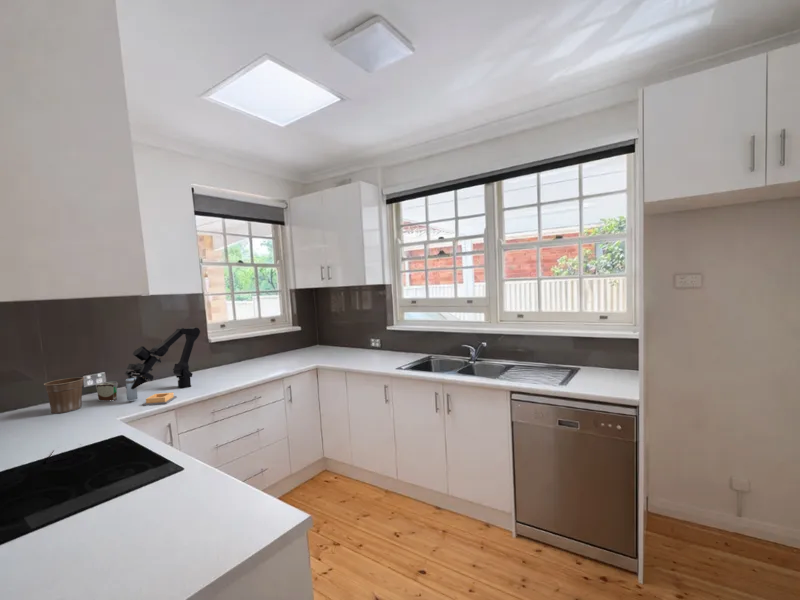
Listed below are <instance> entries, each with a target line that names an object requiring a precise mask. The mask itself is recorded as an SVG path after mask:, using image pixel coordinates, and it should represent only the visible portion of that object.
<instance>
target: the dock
mask: <svg viewBox="0 0 800 600" xmlns="http://www.w3.org/2000/svg"><path fill="white" fill-rule="evenodd" d="M176 398H178V397H177V395H174V392H161V393H154V394H152V395H150V396H148V397H147V398H145V402H144V403H142V406H143V407H147V406H146V405H149V406H161V405H167V404H169V403H171V402H172V401H174V400H175V399H176Z"/></svg>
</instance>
